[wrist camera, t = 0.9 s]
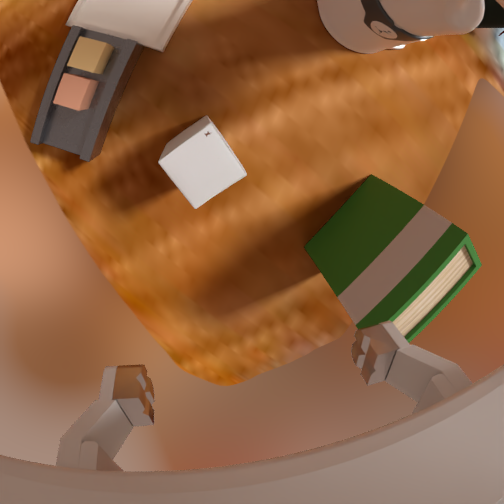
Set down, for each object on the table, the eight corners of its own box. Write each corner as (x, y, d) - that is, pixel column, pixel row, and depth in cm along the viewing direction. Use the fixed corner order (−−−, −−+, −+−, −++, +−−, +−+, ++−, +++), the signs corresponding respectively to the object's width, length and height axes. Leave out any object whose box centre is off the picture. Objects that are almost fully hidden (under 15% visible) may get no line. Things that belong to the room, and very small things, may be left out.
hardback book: (329, 267, 58) (391, 358, 37) (303, 247, 55) (365, 341, 34) (392, 200, 54) (481, 265, 33) (371, 174, 50) (467, 233, 30)
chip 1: (89, 40, 29) (79, 36, 26) (114, 47, 31) (106, 43, 27) (77, 67, 31) (66, 65, 27) (102, 74, 32) (93, 72, 29)
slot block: (85, 31, 31) (72, 25, 26) (143, 47, 35) (137, 41, 30) (46, 136, 37) (30, 142, 32) (100, 154, 41) (88, 161, 36)
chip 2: (74, 74, 31) (63, 73, 28) (99, 81, 32) (90, 80, 29) (64, 101, 32) (52, 103, 29) (88, 108, 34) (78, 110, 30)
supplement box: (165, 143, 42) (155, 160, 31) (207, 113, 41) (212, 120, 30) (193, 181, 46) (194, 211, 35) (234, 154, 45) (249, 174, 34)
